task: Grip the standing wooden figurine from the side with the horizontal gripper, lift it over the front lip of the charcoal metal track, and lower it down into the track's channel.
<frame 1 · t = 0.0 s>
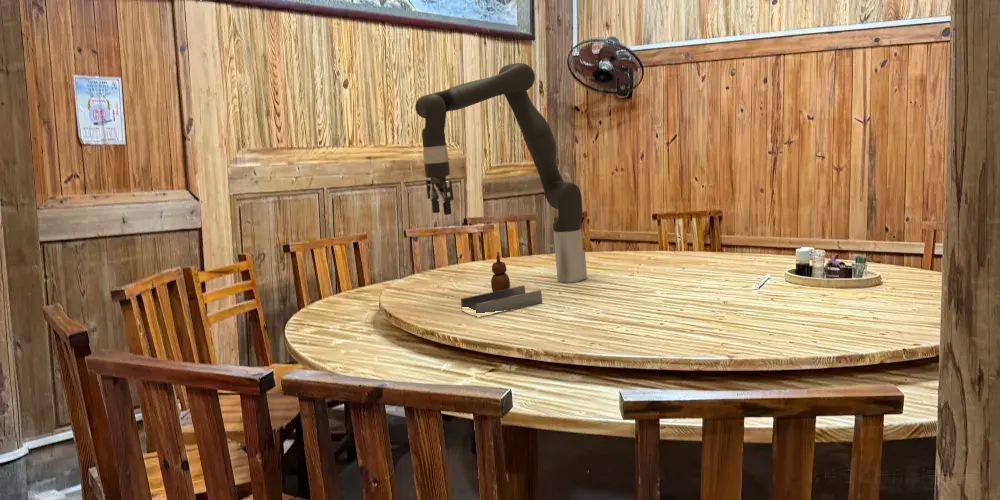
hand: (441, 213, 258), 29 cm above the table, tool pointing down, fingers open, 8 cm apart
wooden figurine: (501, 297, 269), on the table
sliding track: (502, 307, 255), on the table
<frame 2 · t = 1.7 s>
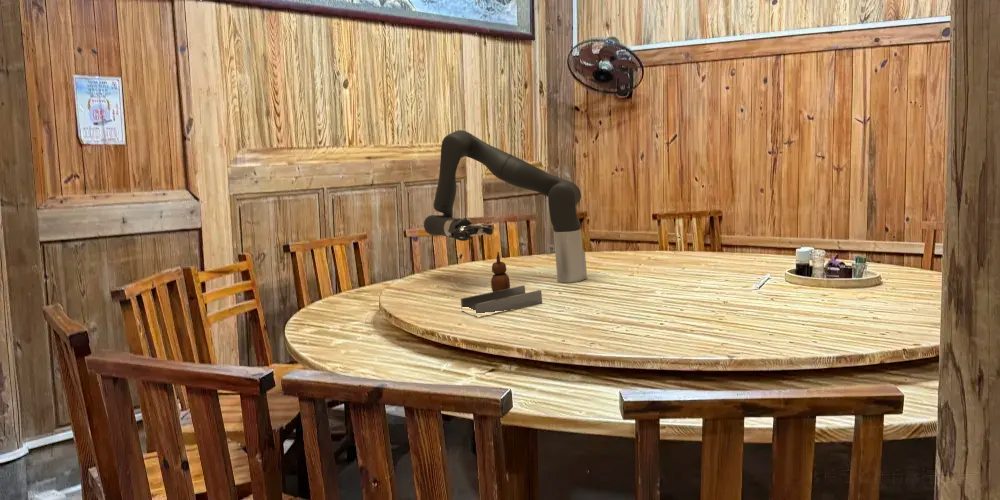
hand: (480, 233, 276), 20 cm above the table, tool horizontal, fingers open, 8 cm apart
nothing on the table moved.
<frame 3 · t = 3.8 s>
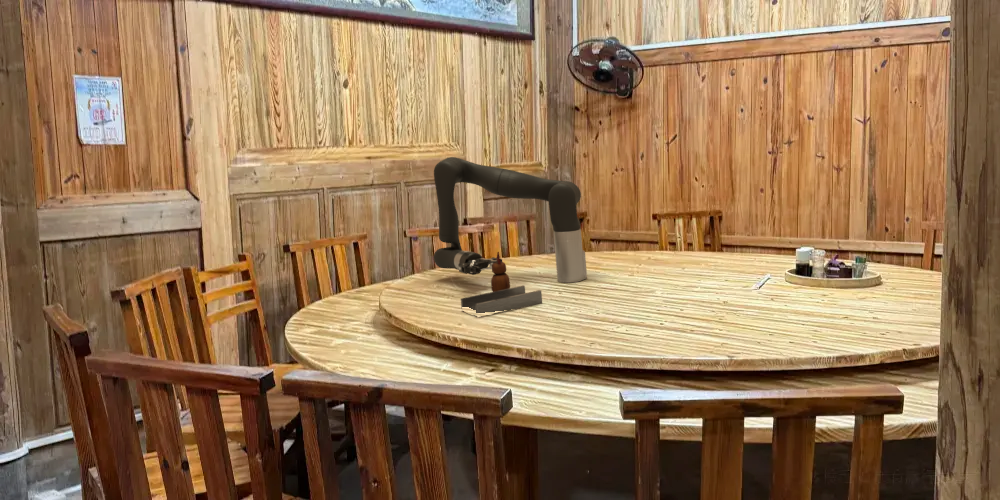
hand: (490, 268, 273), 8 cm above the table, tool horizontal, fingers open, 8 cm apart
nothing on the table moved.
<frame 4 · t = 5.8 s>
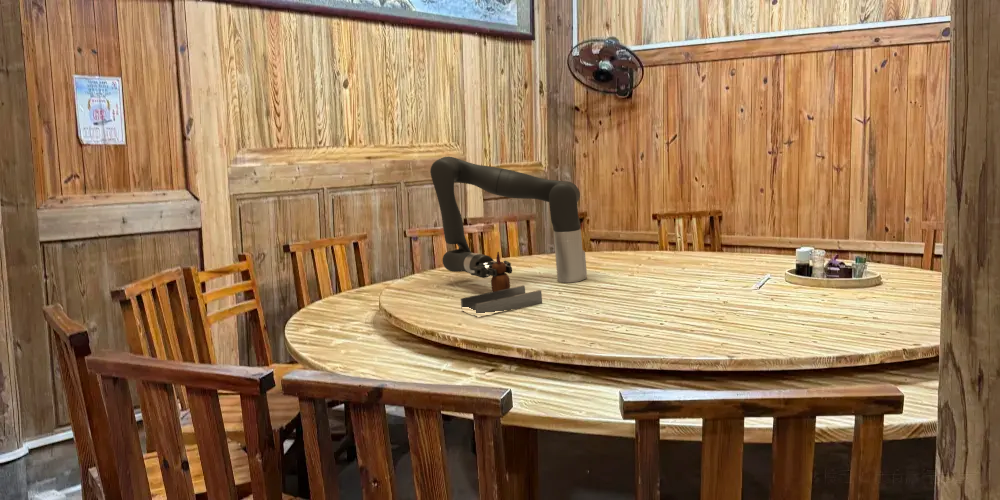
hand: (503, 271, 266), 9 cm above the table, tool horizontal, fingers closed on wooden figurine, 4 cm apart
wooden figurine: (501, 297, 269), on the table, touching gripper
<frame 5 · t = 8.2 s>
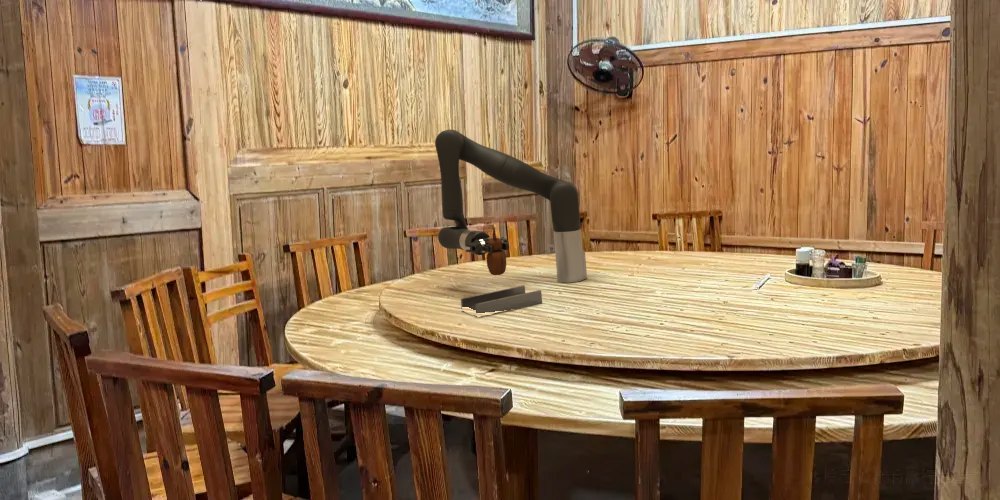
hand: (499, 248, 255), 18 cm above the table, tool horizontal, fingers closed on wooden figurine, 4 cm apart
wooden figurine: (497, 274, 259), point 9 cm above the table, touching gripper
when the fingers open (11 cm above the table, at t = 10.7 s): wooden figurine drops 1 cm, resting on sliding track.
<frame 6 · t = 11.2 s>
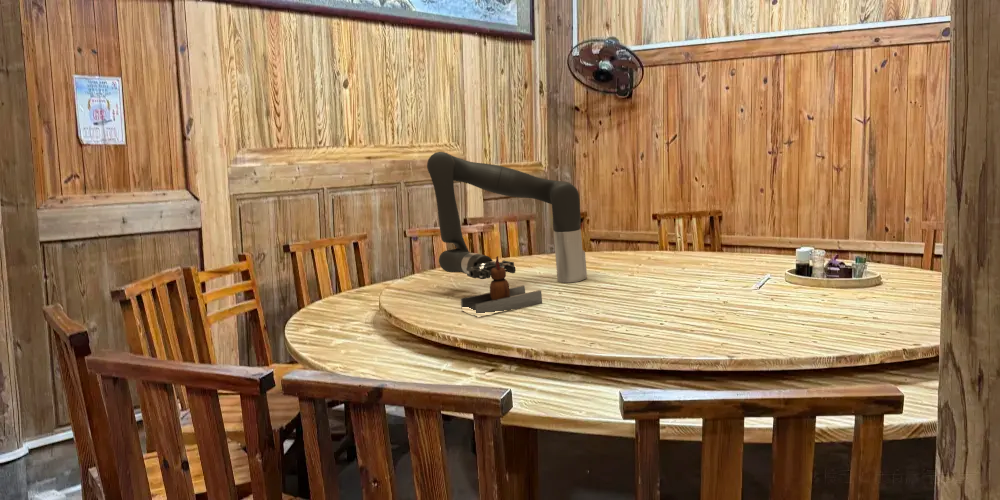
hand: (501, 272, 251), 11 cm above the table, tool horizontal, fingers open, 8 cm apart
wooden figurine: (501, 304, 255), point 1 cm above the table, touching sliding track
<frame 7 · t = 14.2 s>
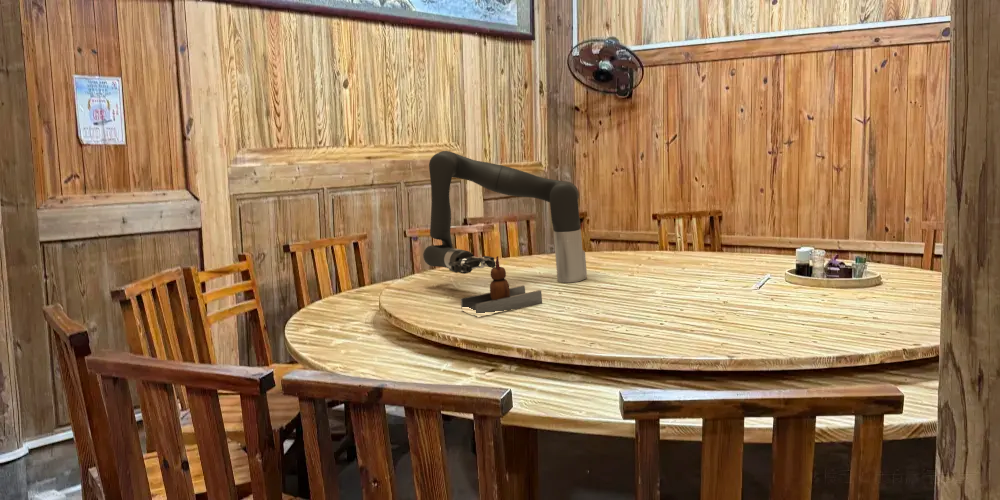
hand: (481, 266, 263), 11 cm above the table, tool horizontal, fingers open, 8 cm apart
nothing on the table moved.
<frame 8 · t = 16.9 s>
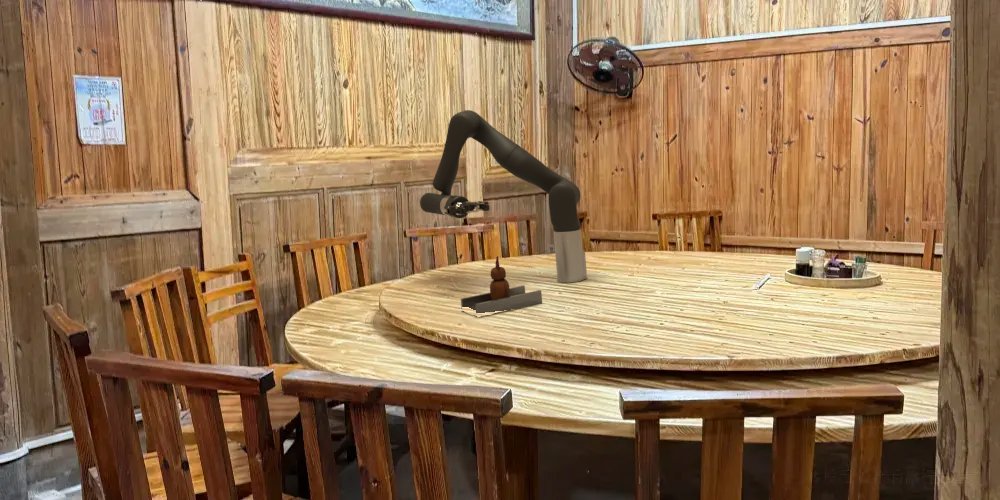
hand: (476, 209, 271), 28 cm above the table, tool horizontal, fingers open, 8 cm apart
nothing on the table moved.
at the end: wooden figurine inside the target area on the sliding track (0.2 cm from its centre), point 1.0 cm above the sliding track's base; wooden figurine tilted 0°; the gripper is holding nothing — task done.
